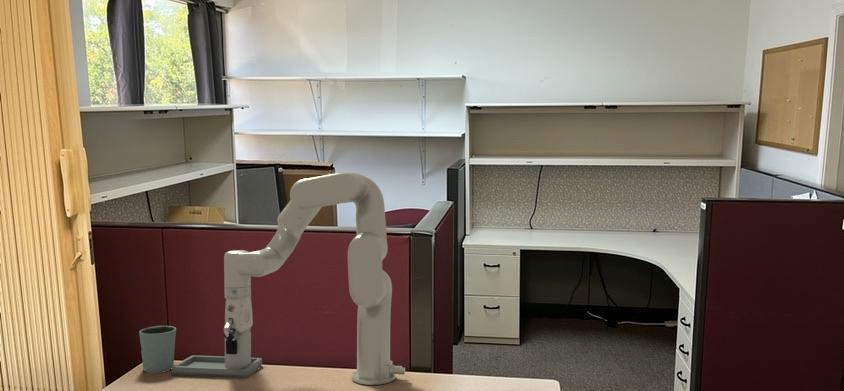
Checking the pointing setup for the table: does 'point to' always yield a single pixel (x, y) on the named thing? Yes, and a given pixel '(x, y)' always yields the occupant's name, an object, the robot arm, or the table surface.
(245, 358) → the can
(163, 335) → the green cup
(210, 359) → the tray
